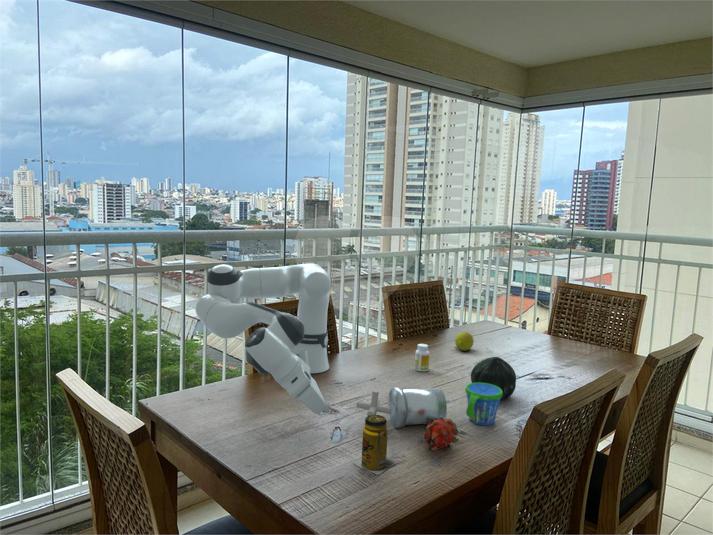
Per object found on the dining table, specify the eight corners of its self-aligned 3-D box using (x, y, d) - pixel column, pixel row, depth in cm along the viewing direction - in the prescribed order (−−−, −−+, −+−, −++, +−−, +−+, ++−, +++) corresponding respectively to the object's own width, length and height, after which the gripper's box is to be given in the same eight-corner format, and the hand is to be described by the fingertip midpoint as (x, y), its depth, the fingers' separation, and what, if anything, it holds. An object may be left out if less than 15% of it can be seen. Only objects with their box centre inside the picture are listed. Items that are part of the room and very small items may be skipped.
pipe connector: (386, 435, 145) (390, 400, 144) (351, 428, 147) (354, 393, 146) (391, 421, 155) (395, 388, 154) (358, 414, 157) (362, 382, 156)
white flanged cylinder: (399, 435, 146) (401, 397, 145) (386, 416, 159) (388, 380, 157) (447, 433, 149) (450, 395, 148) (430, 414, 162) (433, 379, 160)
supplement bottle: (430, 368, 204) (431, 344, 203) (425, 372, 199) (427, 347, 198) (416, 366, 206) (418, 342, 205) (412, 370, 201) (414, 345, 200)
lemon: (466, 354, 226) (467, 336, 225) (450, 350, 231) (451, 332, 230) (477, 349, 235) (479, 331, 234) (461, 345, 239) (463, 328, 238)
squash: (490, 368, 190) (478, 343, 181) (528, 382, 180) (518, 355, 171) (470, 400, 184) (457, 375, 175) (509, 415, 174) (497, 390, 165)
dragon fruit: (453, 445, 144) (431, 467, 135) (431, 421, 147) (408, 441, 138) (470, 428, 139) (448, 450, 130) (447, 404, 142) (424, 424, 133)
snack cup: (481, 434, 148) (484, 399, 147) (451, 421, 156) (453, 388, 154) (510, 420, 159) (513, 388, 158) (481, 409, 166) (483, 378, 165)
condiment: (353, 464, 128) (356, 417, 126) (375, 452, 134) (377, 408, 133) (377, 475, 123) (380, 427, 122) (398, 463, 130) (401, 416, 128)
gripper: (282, 371, 153) (314, 402, 157) (290, 397, 134) (326, 431, 137) (298, 356, 154) (329, 387, 157) (308, 379, 134) (344, 414, 138)
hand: (328, 408), depth 147 cm, fingers closed
